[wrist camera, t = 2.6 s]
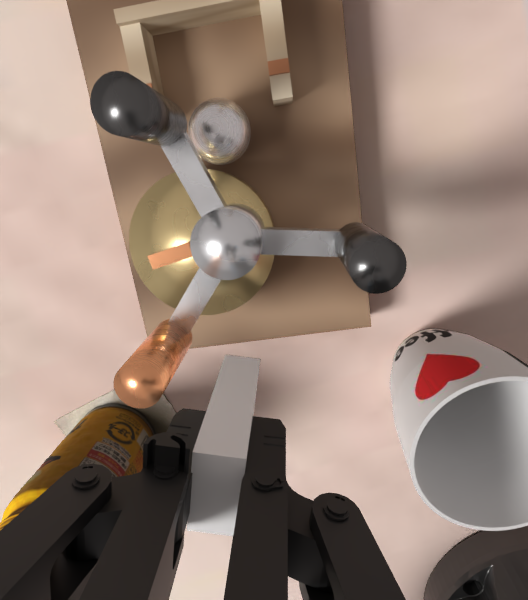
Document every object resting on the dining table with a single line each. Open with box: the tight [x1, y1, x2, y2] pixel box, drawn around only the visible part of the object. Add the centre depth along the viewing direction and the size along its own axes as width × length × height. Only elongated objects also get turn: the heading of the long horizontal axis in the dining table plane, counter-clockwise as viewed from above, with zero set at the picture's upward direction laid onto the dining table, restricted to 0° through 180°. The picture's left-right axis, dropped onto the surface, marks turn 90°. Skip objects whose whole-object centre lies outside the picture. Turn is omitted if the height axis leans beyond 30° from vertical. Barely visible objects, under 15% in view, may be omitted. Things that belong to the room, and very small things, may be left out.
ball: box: [188, 98, 251, 165], centre depth 22 cm, size 3×3×3 cm
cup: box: [390, 329, 528, 531], centre depth 24 cm, size 8×8×10 cm
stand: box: [66, 0, 371, 349], centre depth 24 cm, size 22×14×4 cm, turn 9°
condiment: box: [0, 390, 176, 530], centre depth 26 cm, size 7×8×12 cm
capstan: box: [90, 71, 406, 409], centre depth 20 cm, size 13×12×10 cm
